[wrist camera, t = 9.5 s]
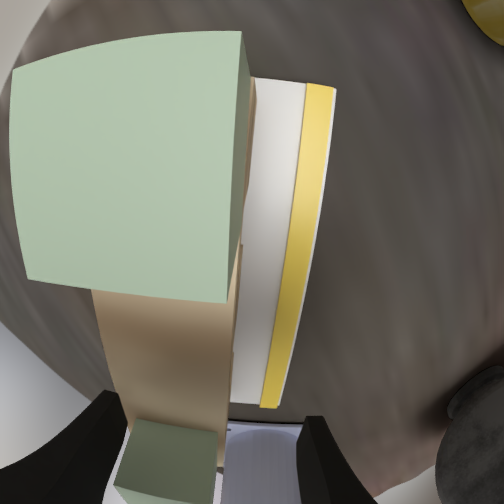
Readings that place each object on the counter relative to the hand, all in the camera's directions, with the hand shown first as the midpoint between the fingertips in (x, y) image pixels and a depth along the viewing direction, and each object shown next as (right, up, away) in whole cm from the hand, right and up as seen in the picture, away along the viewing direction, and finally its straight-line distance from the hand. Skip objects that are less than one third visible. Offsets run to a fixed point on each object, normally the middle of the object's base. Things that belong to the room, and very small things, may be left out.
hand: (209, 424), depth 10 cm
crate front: (-1, +9, -2) cm, 10 cm away
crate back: (-2, -4, +3) cm, 5 cm away
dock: (-1, +6, +8) cm, 10 cm away
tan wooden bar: (-1, +5, +6) cm, 8 cm away
